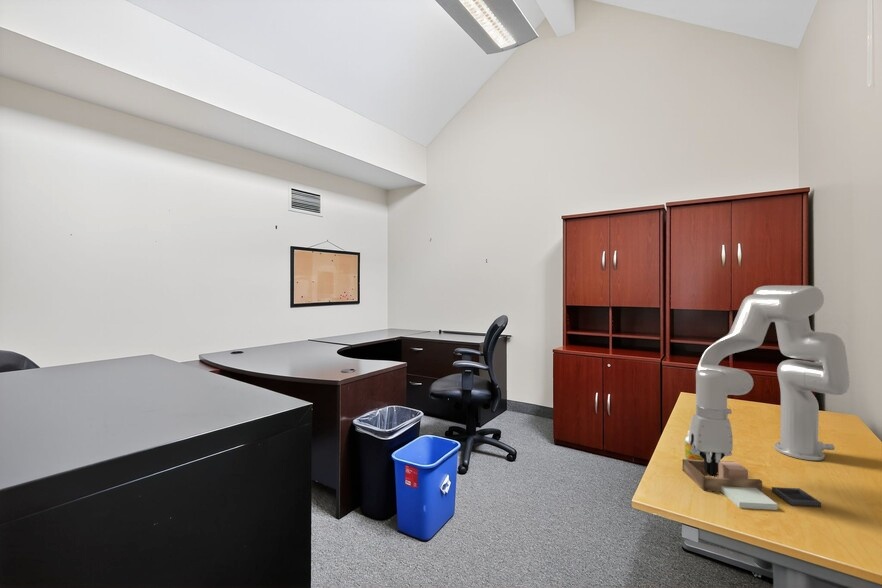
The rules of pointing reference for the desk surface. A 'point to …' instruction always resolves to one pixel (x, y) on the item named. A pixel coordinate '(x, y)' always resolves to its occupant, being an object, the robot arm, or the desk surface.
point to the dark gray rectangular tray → (796, 497)
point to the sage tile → (748, 498)
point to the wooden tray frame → (715, 478)
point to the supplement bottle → (688, 453)
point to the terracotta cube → (732, 470)
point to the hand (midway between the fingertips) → (710, 474)
